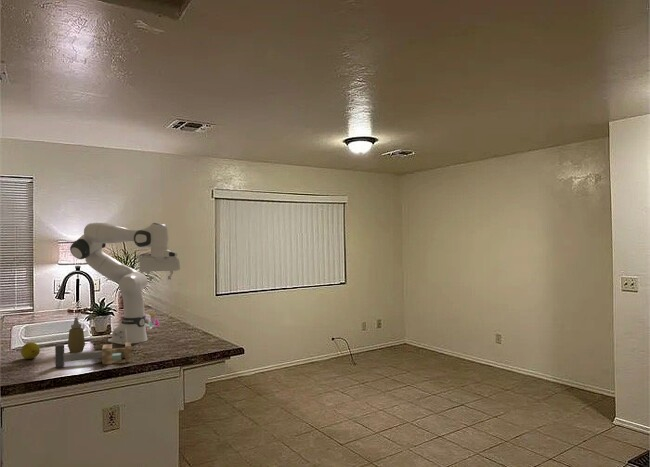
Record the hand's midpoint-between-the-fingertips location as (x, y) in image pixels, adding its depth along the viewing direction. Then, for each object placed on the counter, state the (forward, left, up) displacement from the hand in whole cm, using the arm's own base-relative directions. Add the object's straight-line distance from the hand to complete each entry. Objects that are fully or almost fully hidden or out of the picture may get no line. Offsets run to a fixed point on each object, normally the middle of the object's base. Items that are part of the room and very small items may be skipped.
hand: (160, 279), depth 247 cm
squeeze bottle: (-40, -18, -37) cm, 58 cm away
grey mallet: (-15, -34, -37) cm, 53 cm away
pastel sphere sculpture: (-57, +46, -38) cm, 82 cm away
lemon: (-50, -36, -37) cm, 72 cm away
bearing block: (-5, -24, -37) cm, 45 cm away
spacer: (-5, -24, -37) cm, 45 cm away
